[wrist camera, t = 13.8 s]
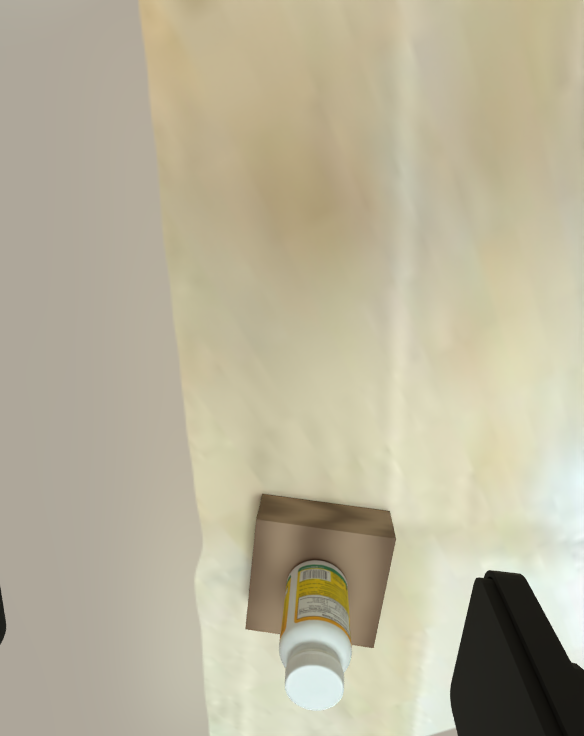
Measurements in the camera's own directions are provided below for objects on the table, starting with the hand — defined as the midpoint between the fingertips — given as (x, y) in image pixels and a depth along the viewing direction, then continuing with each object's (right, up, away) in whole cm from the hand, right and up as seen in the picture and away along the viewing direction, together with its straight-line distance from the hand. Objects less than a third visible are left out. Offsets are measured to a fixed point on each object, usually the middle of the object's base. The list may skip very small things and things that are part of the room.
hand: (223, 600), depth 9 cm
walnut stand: (+4, -14, +36) cm, 39 cm away
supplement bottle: (+4, -15, +32) cm, 36 cm away
